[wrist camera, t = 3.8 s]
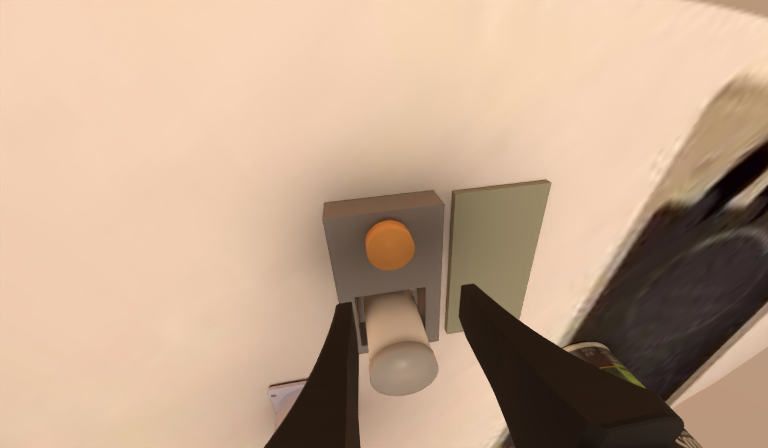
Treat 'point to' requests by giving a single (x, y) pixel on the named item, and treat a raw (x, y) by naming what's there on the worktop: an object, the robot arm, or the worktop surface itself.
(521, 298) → the mat
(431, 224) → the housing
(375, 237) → the button
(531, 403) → the robot arm
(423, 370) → the cylinder
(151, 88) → the worktop surface
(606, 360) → the coffee can
